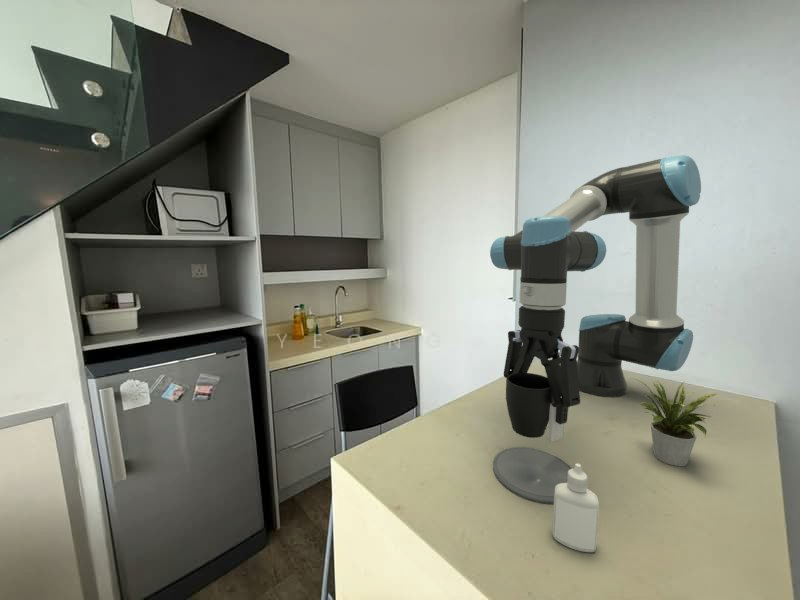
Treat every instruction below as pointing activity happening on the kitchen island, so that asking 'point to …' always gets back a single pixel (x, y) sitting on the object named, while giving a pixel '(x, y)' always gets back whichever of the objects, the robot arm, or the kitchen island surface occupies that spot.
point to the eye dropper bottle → (575, 513)
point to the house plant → (674, 426)
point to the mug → (528, 403)
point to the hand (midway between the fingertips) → (535, 426)
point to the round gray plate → (530, 473)
